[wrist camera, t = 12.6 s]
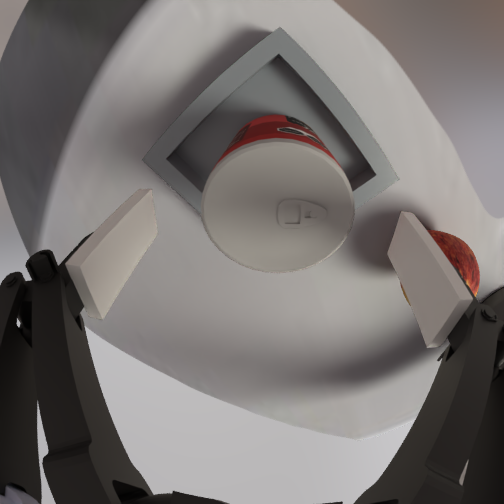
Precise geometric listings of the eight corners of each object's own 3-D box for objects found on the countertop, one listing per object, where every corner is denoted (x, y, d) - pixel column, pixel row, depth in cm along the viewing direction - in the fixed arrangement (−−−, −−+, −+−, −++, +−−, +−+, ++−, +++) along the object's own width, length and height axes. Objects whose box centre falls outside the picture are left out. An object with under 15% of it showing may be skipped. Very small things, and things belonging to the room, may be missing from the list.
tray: (387, 167, 22) (399, 179, 20) (264, 253, 29) (263, 271, 27) (279, 33, 16) (280, 26, 14) (155, 150, 23) (141, 159, 21)
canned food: (331, 183, 23) (364, 256, 14) (248, 205, 25) (232, 287, 16) (308, 102, 19) (338, 120, 10) (217, 130, 21) (174, 172, 12)
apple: (461, 221, 24) (506, 275, 16) (433, 279, 30) (462, 338, 22) (404, 206, 25) (448, 267, 16) (377, 273, 30) (401, 340, 22)
